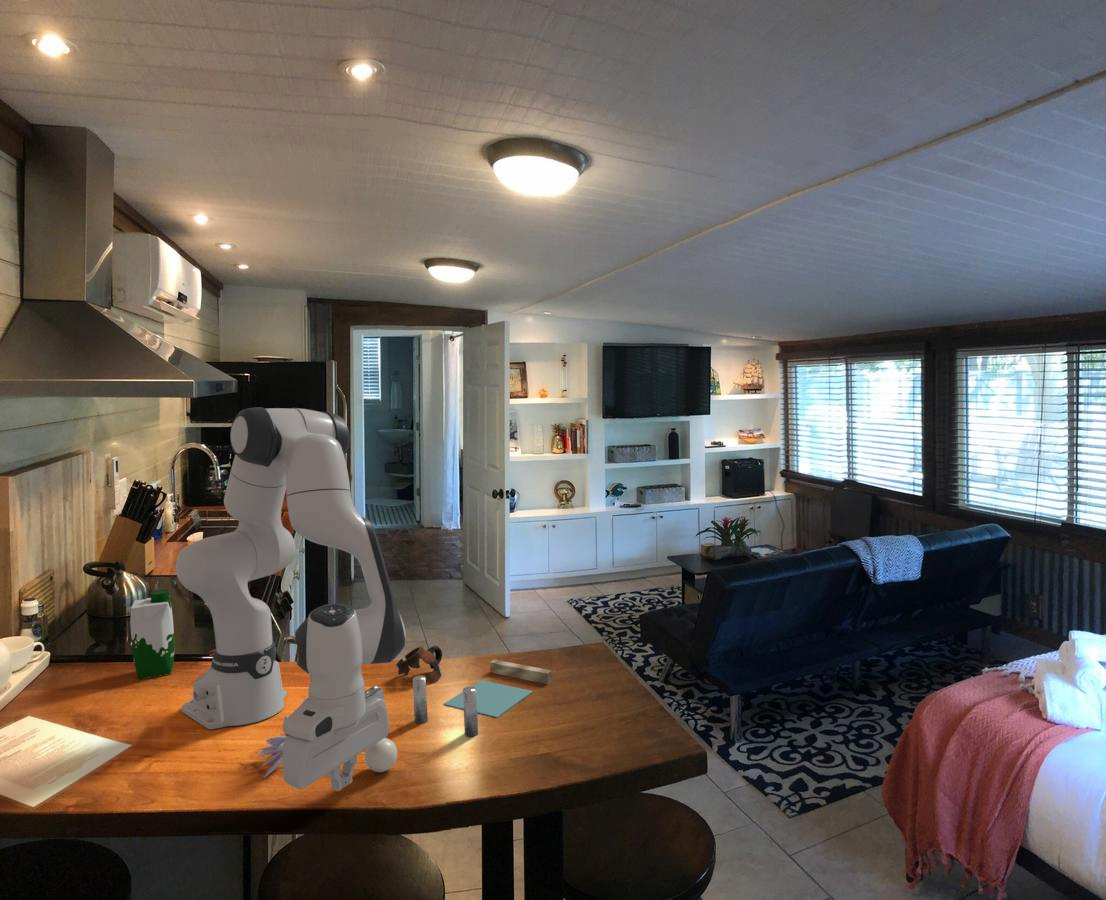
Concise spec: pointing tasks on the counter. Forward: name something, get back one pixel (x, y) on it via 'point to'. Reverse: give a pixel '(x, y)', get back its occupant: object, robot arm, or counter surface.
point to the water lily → (274, 750)
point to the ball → (381, 755)
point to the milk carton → (152, 635)
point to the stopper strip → (521, 671)
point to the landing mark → (492, 698)
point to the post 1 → (420, 699)
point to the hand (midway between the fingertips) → (342, 786)
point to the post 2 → (470, 711)
